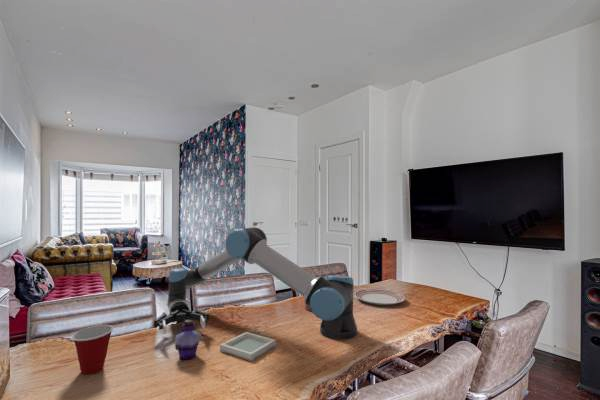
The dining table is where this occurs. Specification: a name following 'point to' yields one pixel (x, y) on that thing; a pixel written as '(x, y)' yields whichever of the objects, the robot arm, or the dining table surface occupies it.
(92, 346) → the plastic cup
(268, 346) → the dish
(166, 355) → the dining table surface
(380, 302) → the dinner plate
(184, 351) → the potion bottle
